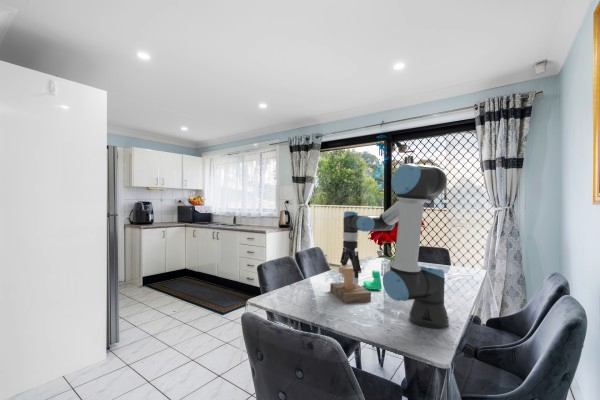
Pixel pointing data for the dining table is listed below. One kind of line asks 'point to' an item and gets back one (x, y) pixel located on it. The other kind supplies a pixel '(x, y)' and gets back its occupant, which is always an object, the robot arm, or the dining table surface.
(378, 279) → the camera mount
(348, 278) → the wooden t-shaped post
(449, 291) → the dining table surface
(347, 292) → the well block
